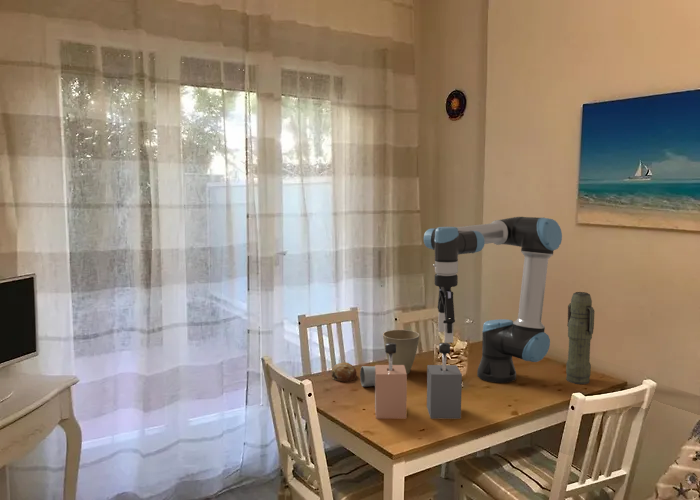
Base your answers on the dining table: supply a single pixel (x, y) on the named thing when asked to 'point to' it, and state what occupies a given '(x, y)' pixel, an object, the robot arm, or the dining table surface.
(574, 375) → the thermos
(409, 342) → the plant pot
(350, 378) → the bread roll
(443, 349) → the charcoal plunger
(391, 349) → the plunger
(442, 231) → the robot arm
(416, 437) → the dining table surface
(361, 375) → the ceramic mug
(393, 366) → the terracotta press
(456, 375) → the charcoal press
